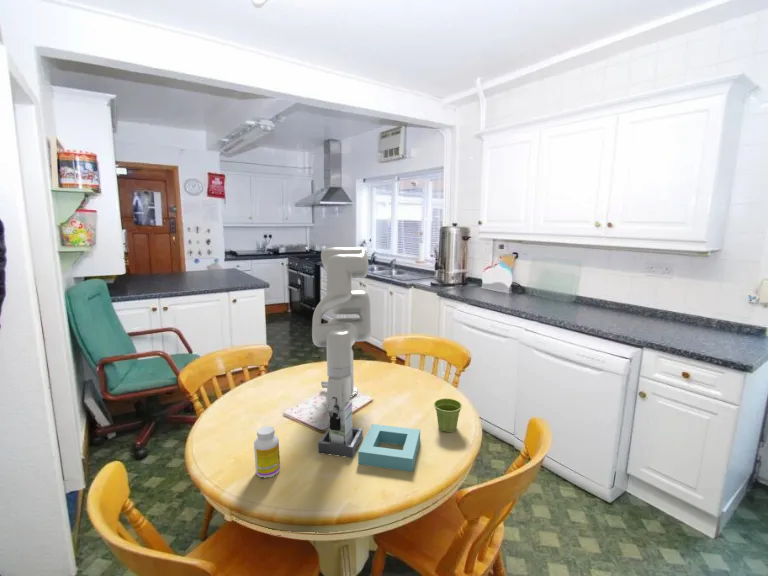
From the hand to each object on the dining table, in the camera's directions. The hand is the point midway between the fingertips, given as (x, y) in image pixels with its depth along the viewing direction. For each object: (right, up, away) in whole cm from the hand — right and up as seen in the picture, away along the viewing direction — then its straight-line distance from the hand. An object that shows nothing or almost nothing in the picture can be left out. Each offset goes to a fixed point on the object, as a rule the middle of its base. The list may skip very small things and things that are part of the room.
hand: (340, 421), depth 123 cm
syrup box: (0, -8, +2) cm, 8 cm away
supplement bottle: (-19, -11, -11) cm, 25 cm away
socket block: (+16, -9, -2) cm, 18 cm away
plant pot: (+35, -6, +12) cm, 38 cm away
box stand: (0, -8, +2) cm, 8 cm away
